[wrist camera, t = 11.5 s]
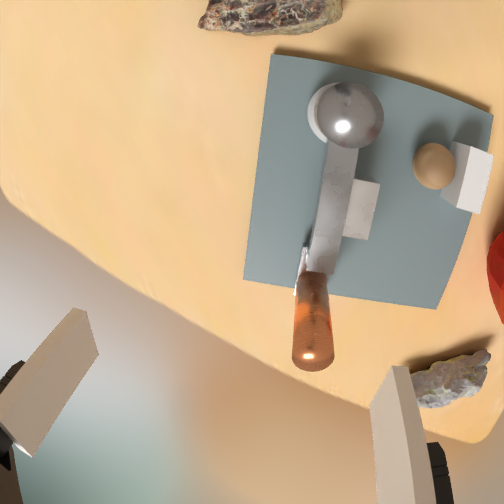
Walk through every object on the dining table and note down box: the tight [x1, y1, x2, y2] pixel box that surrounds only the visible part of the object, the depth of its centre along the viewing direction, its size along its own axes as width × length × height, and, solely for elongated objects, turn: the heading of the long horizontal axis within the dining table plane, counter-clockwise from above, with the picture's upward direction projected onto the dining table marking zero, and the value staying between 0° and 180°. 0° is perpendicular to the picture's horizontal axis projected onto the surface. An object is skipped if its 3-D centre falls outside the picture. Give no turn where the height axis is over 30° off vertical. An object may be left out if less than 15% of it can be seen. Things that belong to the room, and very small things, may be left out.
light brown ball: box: [412, 143, 456, 189], centre depth 25 cm, size 4×4×4 cm
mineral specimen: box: [410, 350, 491, 408], centre depth 36 cm, size 16×7×7 cm, turn 106°
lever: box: [292, 82, 384, 372], centre depth 24 cm, size 21×6×12 cm, turn 174°
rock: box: [198, 0, 343, 36], centre depth 21 cm, size 7×11×10 cm
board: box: [243, 54, 494, 309], centre depth 28 cm, size 24×24×5 cm
